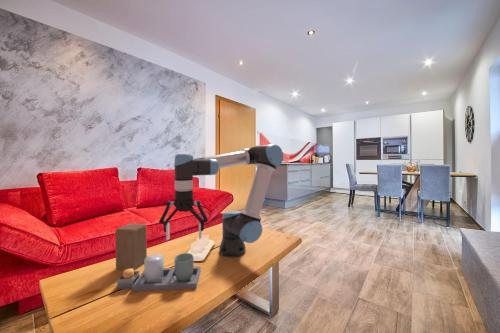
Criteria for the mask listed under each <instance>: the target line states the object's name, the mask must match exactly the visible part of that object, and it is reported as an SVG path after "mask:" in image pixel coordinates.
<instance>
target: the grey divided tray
mask: <svg viewBox="0 0 500 333" xmlns="http://www.w3.org/2000/svg"><path fill="white" fill-rule="evenodd" d="M201 270H202V268H201V266H194V267H193V275H192V277H191V279H190V280H188V281H186V282H179V281H178V280H177V279H176V277H175V267H168V268H167V267H166V268H165V267H164V281H163V282H162V283H153V284H144V270H143V271H142V273H141V274H139V278H138V279H137V281H136V282H135V283H134V285H133V286H132V289H131V293H135V292H153V291H154V292H155V291H172V290H173V291H175V290H187V289H188V290H189V289H193V290H194V289H197V287H198V283H199V279H200V276H201Z"/></svg>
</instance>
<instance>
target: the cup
mask: <svg viewBox="0 0 500 333" xmlns="http://www.w3.org/2000/svg"><path fill="white" fill-rule="evenodd" d="M173 260H174V267H173V268H175V277H176V279H177V280H178V281H179V282H186V281H188V280H190V279H191V277H192V275H193V267H195V266H194V254H192V253H189V252H183V253H179V254H177V255H176V256H175V257H174V259H173Z"/></svg>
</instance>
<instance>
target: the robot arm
mask: <svg viewBox="0 0 500 333" xmlns="http://www.w3.org/2000/svg"><path fill="white" fill-rule="evenodd" d="M283 161H284V152H283V149H282V148H281V147H280V145H278V144H272V143H271V144H270V143H269V144H264V145H263V144H261V145H254V146H252V147H247V148H243V149H241V150H240V151H233V152H228V153H222V154H217V155H216V154H214V155H210V156H203V157H198V158H194V156H193V154H190V153H188V154H187V153H177V154H175V156H174V165H173V166H174V190H175V191H174V201H172V200H168V201H167V202H166V207H165V209H164V211H163V213H162V215H161V217H160V218H159V222H158V223H159V224H163V232H164V233H165V241H169V240H170V238H171V235H170V234H171V233H170V232H171V230H170V229H171V227H170V220H172V218H173V217H174V216H175V214H176V213H177V212H180V213H182V212H184V213H185V212H186V213H187V212H189V213H191V214H192V215H193V216H194V218H195V219H196V220H197V221H198V222H199V223H198V240H201V239H202V232H203V231H204V229H205V223H207V222H209V221H208V220H209V218H208V216H207V214H206V213H205V210H204V209H203V206H202V203H201V202H202V201H201V200H200V199H198V200H195V201H194V190H193V189H194V176H214V175H217V174H218V173H219V169H225V168H228V167H234V166H240V165H244V166H248V165H255V166H256V171H255V174H254V178H253V180H252V184H251V187H250V191H249V194H248V197H247V199H246V203H245V206H244V208H243V210H231V211H230V210H229V211H225V212H224V213H223V214H222V217H221V219H222V238H221V242H220V243H219V244H220V245H219V249H218V250H219V254H220V255H221V256H223V257H232V258H233V257H239V256H242V255H244V254H245V253H246V245H245V244H246V243H247V244H253V243H255V242H256V241H258V240H259V239H260V238H261V236H262V233H263V226H262V224H261V220H262V217H261V216H260V214H261V211H262V207H263V205H264V201H265V197H266V194H267V190H268V188H269V184H270V181H271V178H272V174H273V173H274V172H276V170H277V167H278V166H280V165H282V163H283ZM194 205H195V206H196V207H197V209H198V211H199V213H200V214H199V213H198V212H197V211H196V210H195V208H194V207H193V206H194ZM173 206H174V207H175V208H174V210H173V212H171V213H170V215H169V216H168V217H167V215H168V214H169V211H170V209H171V207H173ZM166 217H167V218H166Z"/></svg>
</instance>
